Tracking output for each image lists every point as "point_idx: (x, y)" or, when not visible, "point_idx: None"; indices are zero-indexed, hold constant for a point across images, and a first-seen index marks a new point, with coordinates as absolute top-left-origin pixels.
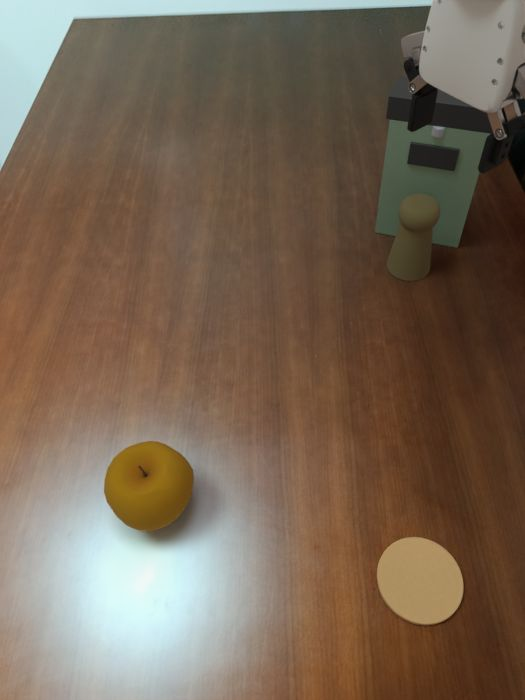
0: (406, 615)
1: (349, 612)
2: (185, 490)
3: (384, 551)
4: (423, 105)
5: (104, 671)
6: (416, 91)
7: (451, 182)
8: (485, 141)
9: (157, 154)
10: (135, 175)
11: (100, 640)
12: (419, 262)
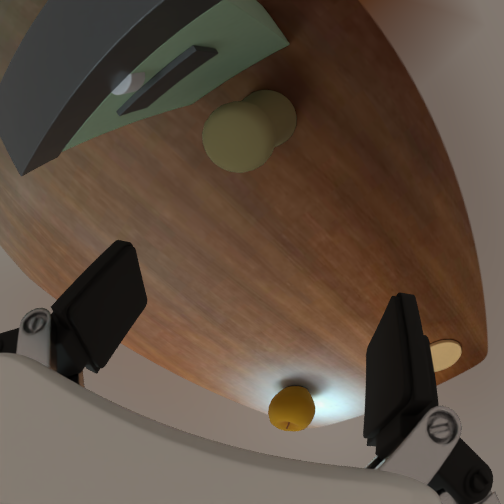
0: (437, 370)
1: None
2: (311, 414)
3: None
4: (106, 331)
5: (333, 419)
6: (82, 377)
7: (226, 50)
8: (364, 427)
9: (23, 199)
10: (38, 226)
11: (324, 416)
12: (285, 136)
